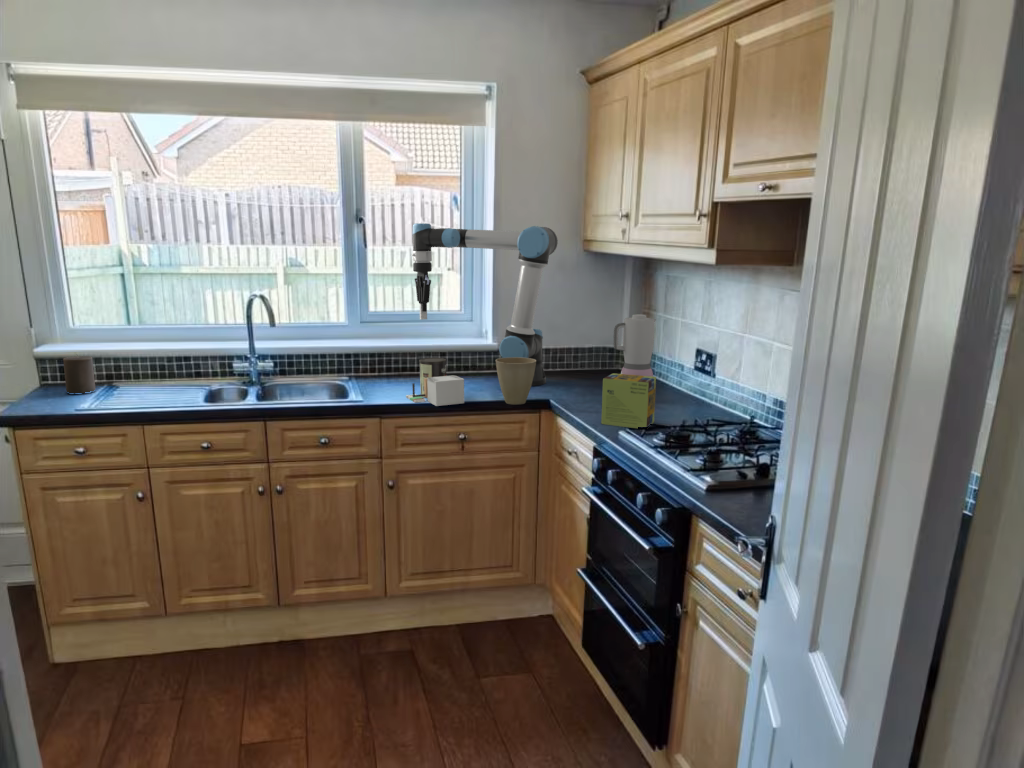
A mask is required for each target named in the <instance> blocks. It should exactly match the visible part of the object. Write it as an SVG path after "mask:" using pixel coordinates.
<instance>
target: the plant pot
mask: <svg viewBox="0 0 1024 768" xmlns="http://www.w3.org/2000/svg"><path fill="white" fill-rule="evenodd" d="M495 366H496V373H497V378H498V383H499V387H500V391H501V393H502V396H503V399H504V402H505V403H506V404H508V405H517V406H518V405H524V404H526V402H527V399H528V396H529V394H530V391H531V388H532V386H531V385H532V381H533V377H534V372H535V366H536V360H535V359H531V358H523V357H508V358H502V357H501V358H500V357H499V358H496V359H495Z"/></svg>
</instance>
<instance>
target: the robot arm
mask: <svg viewBox="0 0 1024 768" xmlns="http://www.w3.org/2000/svg"><path fill="white" fill-rule="evenodd" d="M558 241H559V239H558V235H556V232H555V231H554V230H553V229H551V228H550V227H546V226H539V225H537V226H536V225H533V226H529V227H526V228H525V229H523V230H522V231H519V230H516V231H515V230H497V229H495V230H494V229H493V230H491V229H489V230H488V229H471V228H470V229H468V228H467V229H466V228H464V229H463V228H452V227H447V228H446V227H445V228H442V227H441V228H440V227H439V228H434V227H432V226H431V224H430V223H419V222H418V223H413V225H412V254H411V255H412V258H413V259H412V260H413V264H412V268H413V272H416V277H415V278H414V283H415V291H416V292H415V293H416V301H417V302H418V303H419V320H428V303H430V295H431V294H430V293H431V284H432V280H431V279H430V277H429V273H430V272H432V269H433V267H432V266H433V264H432V263H431V262H432V257H433V256H432V255H433V254H432V253H433V252H432V248H448V249H450V248H451V249H452V248H460V249H461V248H465V249H467V248H469V249H470V248H472V249H486V250H488V249H489V250H508V251H509V250H511V251H519V252H518V258H517V260H518V261H519V263H520V269H519V274H518V279H517V281H518V282H517V286H516V287H517V288H516V293H515V299H514V303H513V304H514V305H513V309H512V315H511V321H510V323H509V325H508V326H506V329H505V335H504V338H503V339H502V340H501V342H500V344H499V349H498V350H499V354H500V356H501V358H508V357H523V358H531V359H535V360H536V366H535V372H534V377H533V381H532V385H531V387H532V386H534V387H535V386H541V385H545V384H547V377H546V373H545V369H544V366H543V339H544V336H543V331H542V329H540V328H539V329H538V328H533V325H534V319H535V316H536V315H535V314H536V310H537V309H536V307H537V303H538V296H539V291H540V286H541V280H542V276H543V275H542V274H543V269H544V267H546V266H548V263H549V259H550V256H551V255H552V254H553V253H555V251H556V250H557V248H558V244H559V243H558Z"/></svg>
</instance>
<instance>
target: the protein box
mask: <svg viewBox="0 0 1024 768" xmlns="http://www.w3.org/2000/svg"><path fill="white" fill-rule="evenodd" d="M656 383H657V376H653V377H652V376H640V375H627V374H621V373H615V372H614V373H611V374H609V375H607V376H605V377H603V379H602V393H601V395H602V396H601V419H600V420H601V421H600V424H601V425H606V426H614V427H623V428H631V429H638V427H647V426H648V425H650V424H652V425H653V424H654V423H655V410H656V409H655V407H656V388H657V387H656V386H657V385H656ZM650 426H651V425H650Z"/></svg>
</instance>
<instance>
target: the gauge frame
mask: <svg viewBox="0 0 1024 768" xmlns="http://www.w3.org/2000/svg"><path fill="white" fill-rule="evenodd" d="M427 386H428V398H427V402H428V403H430V404H432V405H434V406H435V407H439V406H448V405H449V406H450V405H459V404H465V378H462V377H460V376H457V375H454V374H453V375H446V376H440V377H429V378H427ZM415 395H417V394H416V393H415ZM405 398H406V399H408V400H409V401H411V402H412V403H415V404H416V403H424V402H426V399H425V398H424V397H421V396H420V397H413V394H406V395H405Z"/></svg>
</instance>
